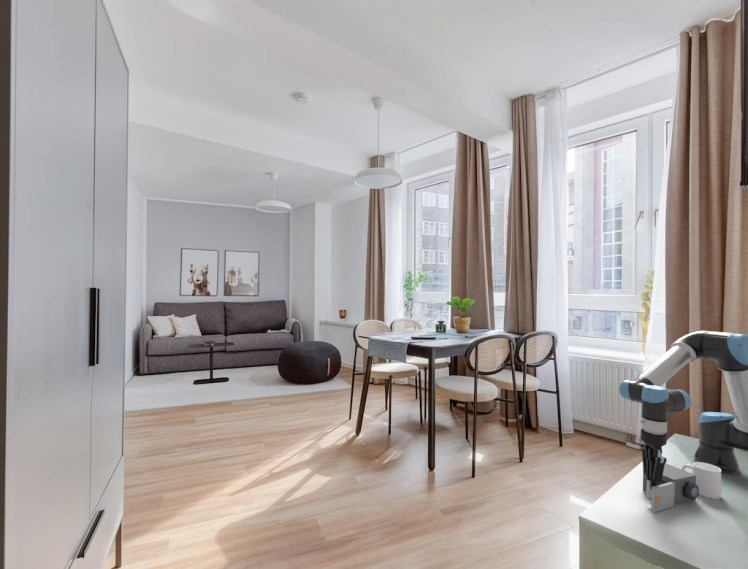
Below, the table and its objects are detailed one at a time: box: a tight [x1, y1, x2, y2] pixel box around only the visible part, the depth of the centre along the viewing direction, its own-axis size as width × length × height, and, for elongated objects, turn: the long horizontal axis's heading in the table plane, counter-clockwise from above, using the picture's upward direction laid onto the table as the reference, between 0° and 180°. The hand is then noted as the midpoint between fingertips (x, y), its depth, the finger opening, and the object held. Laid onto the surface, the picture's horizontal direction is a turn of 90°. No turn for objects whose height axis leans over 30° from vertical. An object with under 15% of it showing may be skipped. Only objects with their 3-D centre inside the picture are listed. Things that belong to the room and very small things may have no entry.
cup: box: [680, 462, 722, 500], centre depth 151 cm, size 8×12×10 cm
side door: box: [650, 482, 676, 513], centre depth 137 cm, size 2×12×8 cm, turn 114°
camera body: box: [642, 462, 699, 506], centre depth 146 cm, size 12×13×10 cm
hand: (651, 497), depth 140 cm, fingers closed
